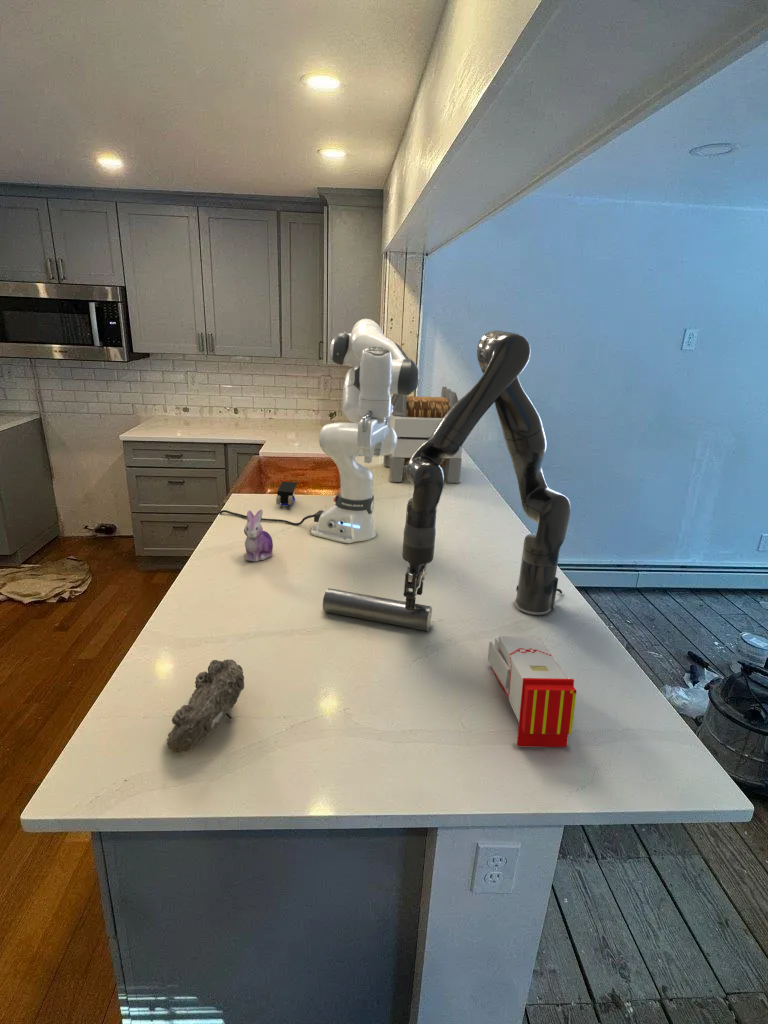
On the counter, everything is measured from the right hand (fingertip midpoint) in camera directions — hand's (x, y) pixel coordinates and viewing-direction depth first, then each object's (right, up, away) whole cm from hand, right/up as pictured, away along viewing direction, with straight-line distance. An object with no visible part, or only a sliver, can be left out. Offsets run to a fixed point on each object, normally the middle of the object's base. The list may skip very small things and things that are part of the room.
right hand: (413, 601), depth 140 cm
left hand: (-10, +37, +19) cm, 43 cm away
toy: (+21, -17, -23) cm, 35 cm away
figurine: (-46, +8, +38) cm, 60 cm away
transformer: (+10, +41, +135) cm, 142 cm away
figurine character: (-46, +25, +84) cm, 99 cm away
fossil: (-40, -17, -31) cm, 54 cm away
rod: (-9, -5, +5) cm, 12 cm away
